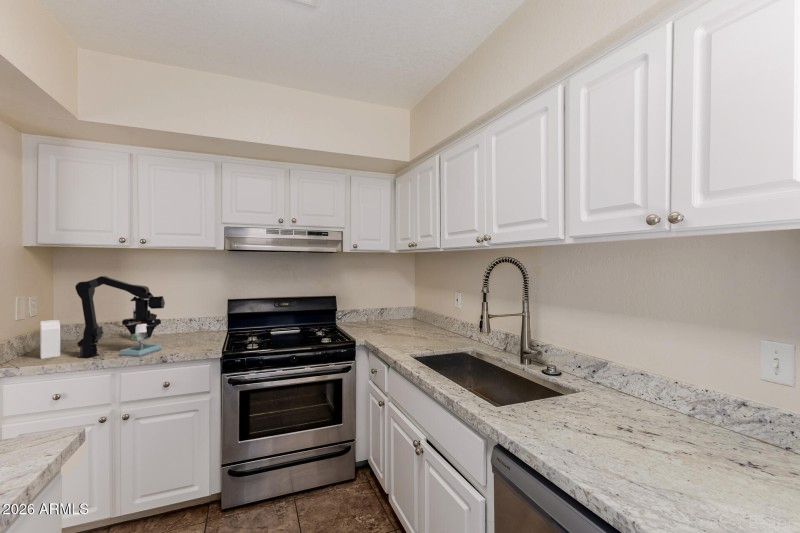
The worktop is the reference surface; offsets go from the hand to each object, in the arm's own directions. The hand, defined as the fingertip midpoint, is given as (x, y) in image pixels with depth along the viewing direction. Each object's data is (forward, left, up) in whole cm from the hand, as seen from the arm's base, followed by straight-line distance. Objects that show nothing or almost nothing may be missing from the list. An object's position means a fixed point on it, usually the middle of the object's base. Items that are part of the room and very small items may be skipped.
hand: (141, 337), depth 196 cm
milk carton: (-41, -13, -9) cm, 44 cm away
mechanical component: (0, 0, -8) cm, 8 cm away
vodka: (-29, +31, -9) cm, 43 cm away
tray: (0, 0, -9) cm, 9 cm away
